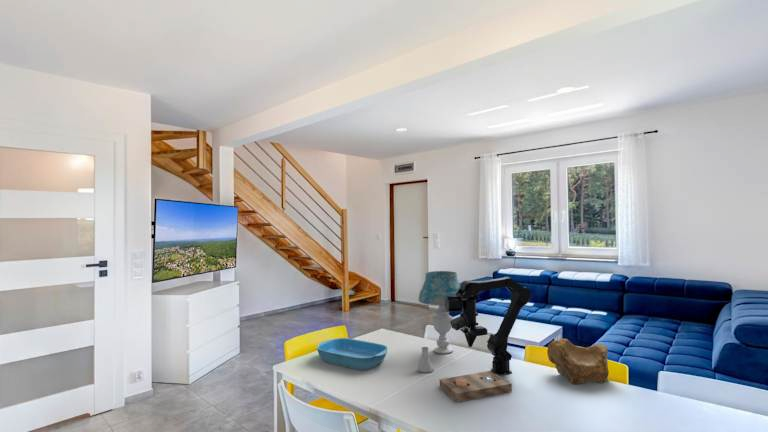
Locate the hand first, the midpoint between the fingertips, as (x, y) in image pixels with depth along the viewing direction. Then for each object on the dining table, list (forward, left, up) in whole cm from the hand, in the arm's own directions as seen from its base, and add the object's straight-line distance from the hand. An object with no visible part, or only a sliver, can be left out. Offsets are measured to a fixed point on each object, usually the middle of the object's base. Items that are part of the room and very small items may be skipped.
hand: (470, 346), depth 164 cm
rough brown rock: (-38, +21, -12) cm, 45 cm away
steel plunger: (0, +13, -12) cm, 17 cm away
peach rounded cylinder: (+12, +13, -11) cm, 21 cm away
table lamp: (-3, -32, -12) cm, 34 cm away
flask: (+16, -12, -12) cm, 23 cm away
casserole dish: (+44, -36, -12) cm, 58 cm away
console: (+6, +13, -12) cm, 19 cm away
